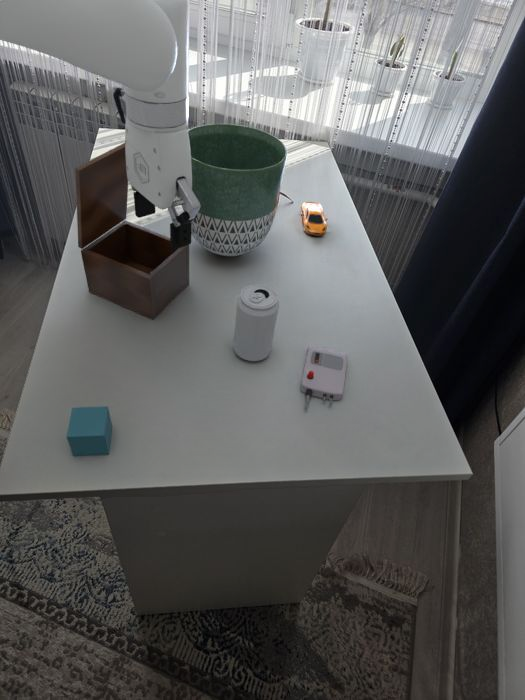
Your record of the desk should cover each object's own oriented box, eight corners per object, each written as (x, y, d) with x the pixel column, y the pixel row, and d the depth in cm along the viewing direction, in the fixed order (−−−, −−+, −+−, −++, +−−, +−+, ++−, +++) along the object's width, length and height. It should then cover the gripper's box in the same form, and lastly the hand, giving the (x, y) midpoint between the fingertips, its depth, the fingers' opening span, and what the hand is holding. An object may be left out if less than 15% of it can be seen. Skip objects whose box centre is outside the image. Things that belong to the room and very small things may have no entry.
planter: (175, 271, 91) (172, 164, 76) (184, 218, 105) (183, 118, 89) (274, 278, 93) (291, 175, 78) (270, 225, 107) (284, 129, 91)
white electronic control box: (346, 349, 81) (351, 337, 79) (338, 420, 71) (343, 409, 68) (309, 340, 82) (312, 328, 80) (295, 410, 71) (298, 398, 69)
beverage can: (277, 347, 80) (288, 293, 71) (257, 370, 76) (265, 315, 67) (246, 331, 82) (253, 276, 73) (225, 352, 78) (229, 296, 69)
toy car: (302, 237, 105) (305, 223, 102) (298, 209, 113) (300, 196, 111) (327, 239, 105) (331, 225, 103) (321, 211, 114) (324, 198, 111)
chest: (189, 284, 89) (189, 244, 83) (153, 320, 81) (149, 279, 75) (129, 260, 92) (124, 219, 86) (88, 291, 84) (80, 250, 78)
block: (72, 456, 62) (66, 437, 58) (77, 427, 65) (71, 407, 62) (109, 454, 62) (104, 435, 59) (112, 425, 66) (108, 406, 62)
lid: (130, 143, 75) (126, 141, 75) (79, 170, 67) (74, 167, 67) (126, 218, 85) (122, 216, 85) (82, 249, 78) (78, 247, 78)
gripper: (95, 89, 60) (111, 210, 72) (169, 140, 52) (173, 267, 64) (147, 82, 64) (154, 198, 76) (224, 129, 55) (217, 251, 68)
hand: (162, 229), depth 70 cm, fingers open, 9 cm apart
